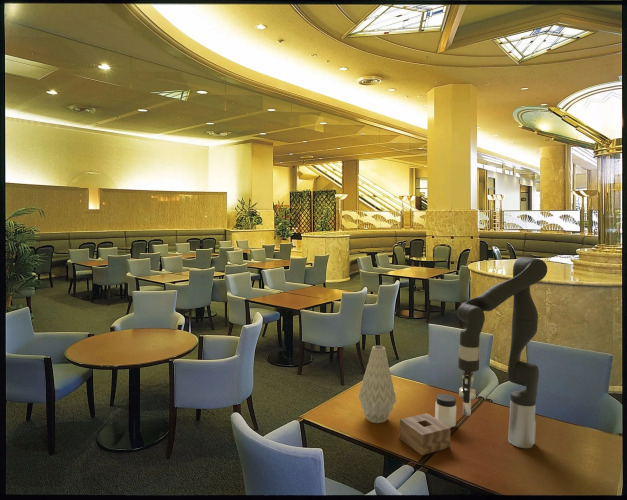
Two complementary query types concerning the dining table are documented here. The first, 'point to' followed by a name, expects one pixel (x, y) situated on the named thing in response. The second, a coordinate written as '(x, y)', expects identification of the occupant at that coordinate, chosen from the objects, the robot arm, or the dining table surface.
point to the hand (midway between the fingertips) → (467, 399)
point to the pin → (468, 405)
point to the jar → (446, 409)
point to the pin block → (424, 433)
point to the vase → (377, 387)
